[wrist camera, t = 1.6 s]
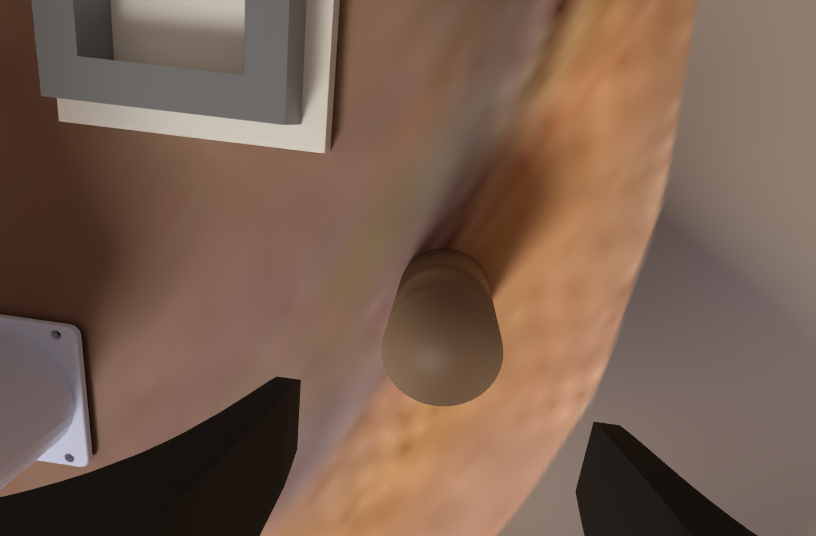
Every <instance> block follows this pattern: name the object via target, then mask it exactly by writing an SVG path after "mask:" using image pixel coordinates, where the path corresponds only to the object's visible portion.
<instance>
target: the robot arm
mask: <svg viewBox="0 0 816 536" xmlns="http://www.w3.org/2000/svg"><path fill="white" fill-rule="evenodd" d="M57 331H58V332H59V333H60V334H61V336H60V335H59V334H58V333H57ZM300 384H301V380H297V379H290V378H283V377H275V378H273V379H272V380H270V381H269V382H267V383H265V384H264V385H262V386H261V387H259V388H258V389H256V390H255V391H253V392H252V393H250V394H248V395H247V396H245V397H244V398H242V399H241V400H239V401H237V402H236V403H234V404H233V405H231V406H230V407H228V408H226V409H225V410H223V411H222V412H220V413H218V414H216V415H215V416H213V417H211V418H209V419H208V420H206V421H204V422H202V423H200V424H199V425H197V426H195V427H193V428H191V429H190V430H188V431H186V432H184V433H182V434H180V435H178V436H176V437H174V438H172V439H170V440H168V441H166V442H164V443H162V444H160V445H157V446H155V447H153V448H151V449H149V450H146V451H144V452H142V453H139V454H137V455H135V456H132V457H129V458H127V459H124V460H121V461H119V462H116V463H113V464H111V465H108V466H105V467H103V468H100V469H97V470H95V471H92V472H89V473H86V474H83V475H80V476H77V477H73V478H70V479H67V480H64V481H61V482H57V483H54V484H50V485H47V486H43V487H40V488H36V489H32V490H28V491H25V492H21V493H17V494H12V495H8V496H4V497H0V536H260V534H261V532H262V530H263V528H264V526H265V524H266V522H267V520H268V518H269V516H270V514H271V512H272V510H273V508H274V506H275V504H276V502H277V500H278V498H279V496H280V494H281V492H282V490H283V488H284V485H285V482H286V480H287V477H288V474H289V472H290V469H291V466H292V463H293V460H294V457H295V454H296V451H297V441H298V422H299V403H300ZM73 456H74V457H73ZM92 457H93V455H92V444H91V434H90V423H89V412H88V402H87V391H86V381H85V370H84V359H83V349H82V338H81V333H80V330H79V329H78V328H77V327H76V326H74V325H71V324H66V323H59V322H51V321H44V320H37V319H30V318H23V317H16V316H8V315H1V314H0V490H1V489H2V488H3V487H4V486H6V485H7V484H8V483H9V482H10V481H12V480H13V479H14V478H15V477H16V476H18V475H19V474H20V473H21V472H22V471H24V470H25V469H26V468H27V467H28V466H30V465H31V464H32V463H33V462H35V461H36V460H39V461H46V462H52V463H59V464H65V465H72V466H79V467H84V466H86V465H87V464H88V463H90V462H91V460H92ZM576 496H577V501H578V507H579V511H580V517H581V522H582V526H583V531H584V534H585V536H757V535H755V534H754V533H753V532H751V531H749V530H748V529H747V528H745V527H744V526H743V525H741V524H740V523H738V522H737V521H736V520H734V519H733V518H732V517H730V516H729V515H728V514H727V513H725V512H724V511H723V510H721V509H720V508H719V507H717V506H716V505H715V504H714V503H712V502H711V501H710V500H708V499H707V498H706V497H705V496H703V495H702V494H701V493H700V492H698V491H697V490H696V489H695V488H693V487H692V486H691V485H690V484H689V483H688V482H686V481H685V480H684V479H683V478H681V477H680V476H679V475H678V474H677V473H676V472H674V471H673V470H672V469H671V468H670V467H669V466H667V465H666V464H665V463H664V462H663V461H662V460H660V459H659V458H658V457H657V456H656V455H654V453H652V452H651V451H650V450H649V449H648V448H646V447H645V446H644V445H643V444H642V443H641V442H640V441H638V440H637V439H636V438H635V437H634V436H632V435H631V434H630V433H629V432H627V431H626V430H625V429H624V428H622V427H621V426H619V425H613V424H606V423H598V422H594V423H593V427H592V430H591V434H590V438H589V442H588V446H587V449H586V453H585V457H584V461H583V465H582V469H581V473H580V476H579V480H578V485H577V488H576Z"/></svg>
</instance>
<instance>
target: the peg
mask: <svg viewBox="0 0 816 536" xmlns="http://www.w3.org/2000/svg"><path fill="white" fill-rule="evenodd" d="M382 359H383V363H384V367H385V369H386V372H387V374H388V375H389V377H390V379H391V380H392V382H393V383H394V384H395V385H396V386H397V387H398V388H399V389H400V390H401V391H402V392H403V393H405V394H406V395H407V396H409V397H411V398H412V399H415V400H417V401H419V402H422V403H425V404H429V405H434V406H453V405H459V404H462V403H465V402H468V401H470V400H473V399H474V398H476V397H478V396H479V395H481V394H482V393H483V392H485V391H486V390H487V389H488V388H489V387H490V386H491V384H492V383H493V382H494V380H495V379H496V377H497V375H498V373H499V371H500V368H501V365H502V360H503V345H502V339H501V335H500V330H499V326H498V322H497V317H496V313H495V309H494V304H493V300H492V296H491V291H490V287H489V283H488V279H487V276H486V274H485V272H484V270H483V269H482V267H481V266H480V265H479V264H478V263H477V261H475V260H474V259H473V258H472V257H470V256H469V255H467V254H465V253H463V252H460V251H457V250H453V249H435V250H431V251H428V252H425V253H423V254H421V255H420V256H418V257H417V258H415V259H414V260H413V261H412V262H411V263H410V264H409V265H408V267H407V268H406V270H405V271H404V273H403V275H402V278H401V281H400V285H399V288H398V291H397V294H396V297H395V301H394V304H393V307H392V310H391V314H390V317H389V320H388V323H387V327H386V330H385V333H384V336H383V341H382Z"/></svg>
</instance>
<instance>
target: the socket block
mask: <svg viewBox="0 0 816 536" xmlns="http://www.w3.org/2000/svg"><path fill="white" fill-rule="evenodd" d="M31 3H32V13H33V23H34V32H35V42H36V52H37V61H38V71H39V80H40V90H41V96H45V97H53V98H57V106H58V116H59V121H61V122H69V123H78V124H86V125H94V126H102V127H111V128H119V129H127V130H135V131H144V132H152V133H160V134H169V135H177V136H185V137H193V138H202V139H210V140H218V141H226V142H235V143H243V144H251V145H260V146H268V147H276V148H284V149H293V150H301V151H309V152H317V153H328V152H330V150H331V134H332V118H333V102H334V86H335V70H336V54H337V38H338V22H339V6H340V0H31Z"/></svg>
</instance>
